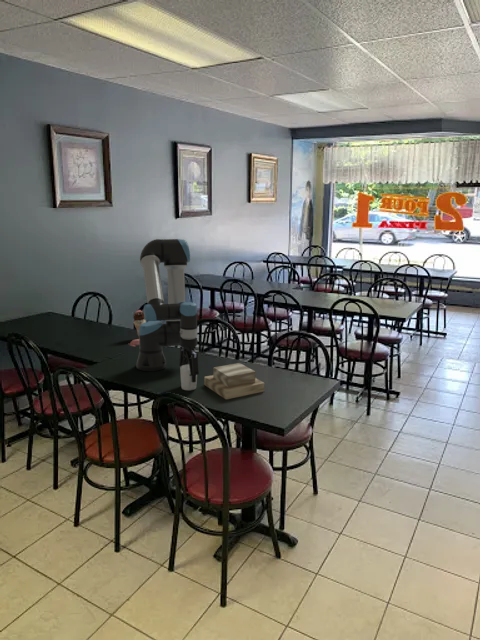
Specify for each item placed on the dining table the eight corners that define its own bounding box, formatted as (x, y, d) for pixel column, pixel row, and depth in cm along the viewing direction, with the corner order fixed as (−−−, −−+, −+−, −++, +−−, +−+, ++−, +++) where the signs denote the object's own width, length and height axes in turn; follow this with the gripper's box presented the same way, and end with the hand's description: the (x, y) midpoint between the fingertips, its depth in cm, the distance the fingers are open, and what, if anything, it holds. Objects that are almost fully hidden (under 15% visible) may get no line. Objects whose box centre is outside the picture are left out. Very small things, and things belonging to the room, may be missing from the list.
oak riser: (204, 384, 233) (204, 366, 231) (241, 377, 243) (241, 360, 241) (225, 399, 216) (226, 379, 214) (264, 391, 226) (264, 372, 224)
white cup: (199, 385, 231) (200, 365, 229) (193, 391, 224) (193, 370, 222) (184, 383, 234) (183, 363, 231) (177, 389, 226) (177, 368, 224)
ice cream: (142, 336, 312) (141, 308, 308) (156, 342, 301) (156, 313, 296) (118, 341, 302) (117, 311, 298) (132, 347, 290) (131, 316, 286)
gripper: (171, 332, 230) (172, 379, 235) (191, 343, 213) (191, 394, 218) (186, 331, 234) (186, 377, 239) (206, 341, 217) (206, 391, 222)
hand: (188, 385), depth 229 cm, fingers closed on white cup, 8 cm apart
